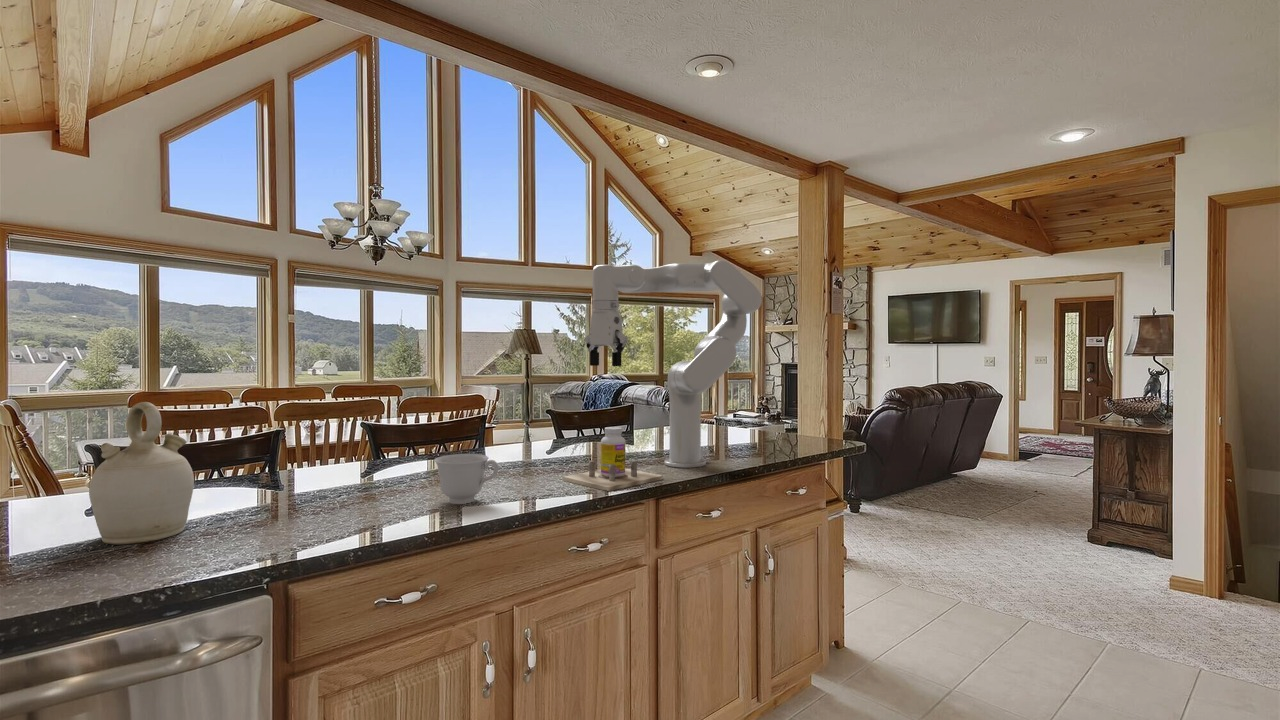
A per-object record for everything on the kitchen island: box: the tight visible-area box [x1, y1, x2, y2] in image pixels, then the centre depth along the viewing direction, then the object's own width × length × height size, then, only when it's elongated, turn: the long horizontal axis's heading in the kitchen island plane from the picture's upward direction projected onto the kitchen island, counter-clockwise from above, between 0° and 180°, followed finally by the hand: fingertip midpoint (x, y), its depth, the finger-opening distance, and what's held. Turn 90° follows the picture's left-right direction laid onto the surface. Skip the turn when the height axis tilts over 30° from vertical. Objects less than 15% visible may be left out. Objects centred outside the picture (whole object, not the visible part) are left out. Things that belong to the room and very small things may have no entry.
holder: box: [562, 460, 664, 492], centre depth 166 cm, size 20×18×5 cm
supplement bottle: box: [600, 426, 627, 477], centre depth 166 cm, size 7×7×13 cm
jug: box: [88, 401, 195, 545], centre depth 116 cm, size 15×16×25 cm
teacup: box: [433, 453, 499, 505], centre depth 142 cm, size 12×15×10 cm
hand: (605, 365), depth 181 cm, fingers open, 9 cm apart
